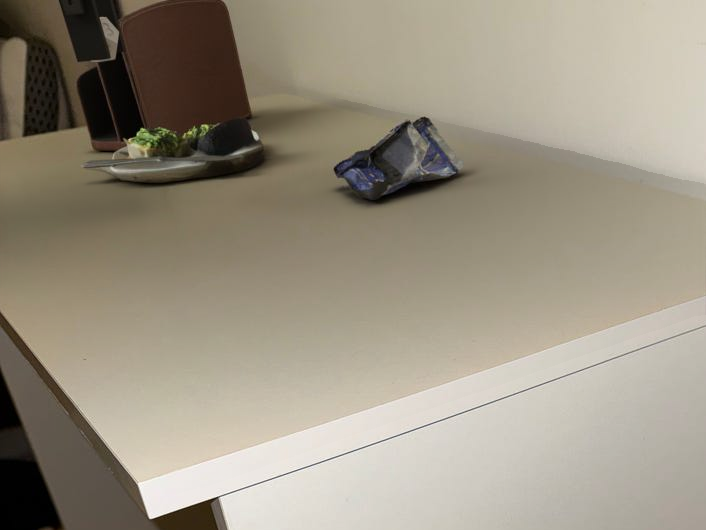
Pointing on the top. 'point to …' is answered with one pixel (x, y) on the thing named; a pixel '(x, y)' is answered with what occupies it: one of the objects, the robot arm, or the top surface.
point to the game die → (109, 37)
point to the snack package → (399, 161)
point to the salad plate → (184, 153)
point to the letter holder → (165, 74)
